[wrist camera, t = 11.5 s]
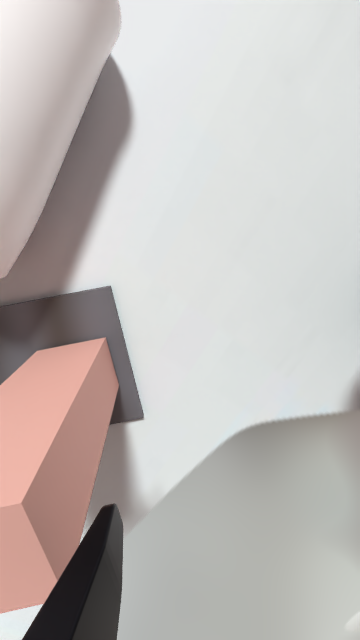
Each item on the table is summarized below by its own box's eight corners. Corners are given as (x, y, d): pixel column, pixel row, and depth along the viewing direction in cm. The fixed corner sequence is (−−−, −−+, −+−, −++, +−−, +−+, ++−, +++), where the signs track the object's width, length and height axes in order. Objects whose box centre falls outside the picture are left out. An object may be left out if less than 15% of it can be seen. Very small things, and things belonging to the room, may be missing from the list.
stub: (105, 337, 20) (21, 502, 7) (119, 385, 21) (65, 598, 8) (37, 350, 19) (-170, 544, 7) (54, 398, 21) (-98, 636, 8)
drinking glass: (129, -71, 10) (-52, 284, 12) (145, 68, 16) (29, 279, 18) (-51, -219, 9) (-214, 191, 11) (43, -8, 15) (-68, 222, 17)
